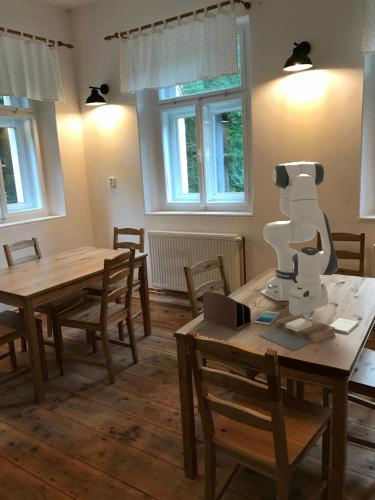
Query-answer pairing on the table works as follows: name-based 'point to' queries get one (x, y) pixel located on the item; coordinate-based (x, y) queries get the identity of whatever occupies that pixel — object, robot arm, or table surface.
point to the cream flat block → (298, 324)
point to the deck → (308, 329)
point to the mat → (285, 339)
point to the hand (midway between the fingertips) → (309, 320)
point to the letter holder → (225, 311)
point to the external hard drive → (344, 325)
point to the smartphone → (267, 317)
